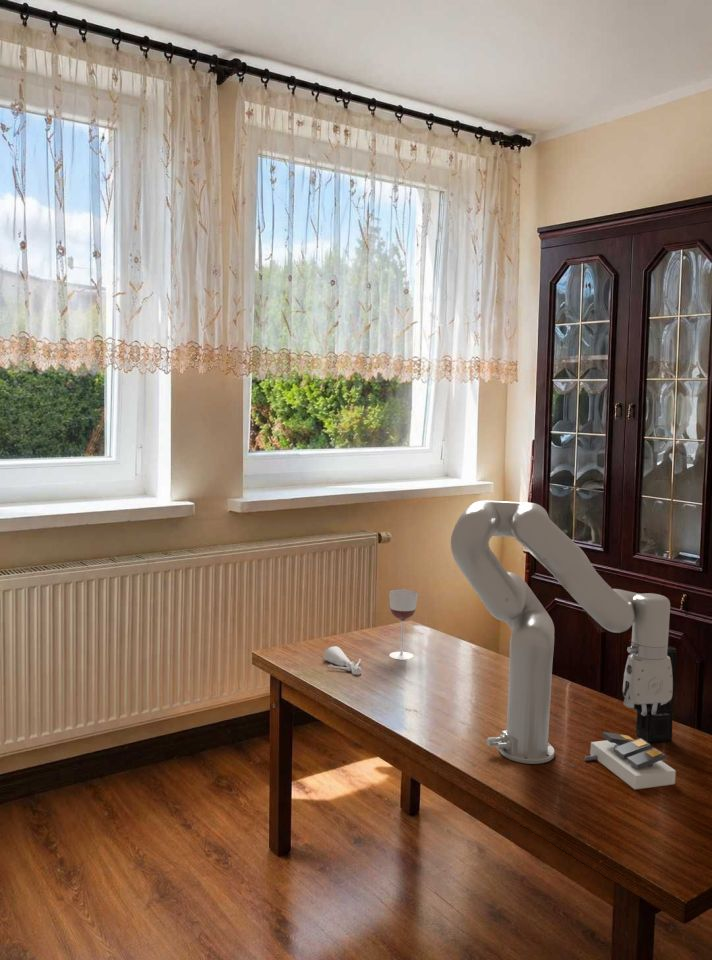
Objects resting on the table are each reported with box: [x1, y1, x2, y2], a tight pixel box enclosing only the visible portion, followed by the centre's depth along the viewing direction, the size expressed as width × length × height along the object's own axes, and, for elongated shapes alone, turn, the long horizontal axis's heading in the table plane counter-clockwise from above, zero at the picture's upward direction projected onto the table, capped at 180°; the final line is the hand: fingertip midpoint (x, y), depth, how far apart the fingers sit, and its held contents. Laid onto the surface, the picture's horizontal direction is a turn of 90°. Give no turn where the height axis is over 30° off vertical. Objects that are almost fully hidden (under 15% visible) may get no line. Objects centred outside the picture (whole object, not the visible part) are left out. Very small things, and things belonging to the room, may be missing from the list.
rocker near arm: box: [601, 731, 635, 746], centre depth 190 cm, size 7×4×2 cm, turn 107°
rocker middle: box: [614, 737, 652, 759], centre depth 186 cm, size 7×4×2 cm, turn 106°
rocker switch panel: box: [584, 739, 677, 790], centre depth 186 cm, size 13×17×3 cm
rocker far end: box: [627, 747, 666, 769], centre depth 181 cm, size 7×4×2 cm, turn 106°
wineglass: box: [388, 588, 419, 661], centre depth 258 cm, size 8×9×20 cm
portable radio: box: [635, 635, 677, 744], centre depth 201 cm, size 8×6×25 cm
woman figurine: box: [323, 645, 363, 676], centre depth 248 cm, size 12×4×18 cm
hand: (644, 730), depth 186 cm, fingers closed
